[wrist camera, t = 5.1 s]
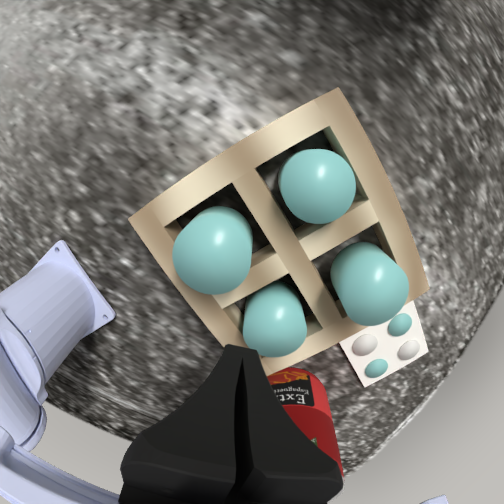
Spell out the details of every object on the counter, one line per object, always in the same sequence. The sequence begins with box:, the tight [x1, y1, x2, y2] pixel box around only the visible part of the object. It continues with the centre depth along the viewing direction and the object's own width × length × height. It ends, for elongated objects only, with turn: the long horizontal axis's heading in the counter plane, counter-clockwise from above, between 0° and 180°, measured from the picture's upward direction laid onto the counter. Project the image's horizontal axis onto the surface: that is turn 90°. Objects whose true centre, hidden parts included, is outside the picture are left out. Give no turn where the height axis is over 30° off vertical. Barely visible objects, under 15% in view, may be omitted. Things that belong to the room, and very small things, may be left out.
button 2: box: [172, 206, 253, 295], centre depth 16 cm, size 4×4×4 cm
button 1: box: [243, 281, 307, 357], centre depth 20 cm, size 4×4×4 cm
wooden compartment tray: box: [128, 87, 430, 376], centre depth 19 cm, size 15×15×2 cm
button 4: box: [278, 149, 356, 224], centre depth 17 cm, size 4×4×4 cm
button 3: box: [331, 242, 409, 326], centre depth 17 cm, size 4×4×4 cm
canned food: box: [267, 367, 345, 503], centre depth 20 cm, size 8×8×11 cm
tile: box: [339, 300, 428, 387], centre depth 23 cm, size 7×7×1 cm
